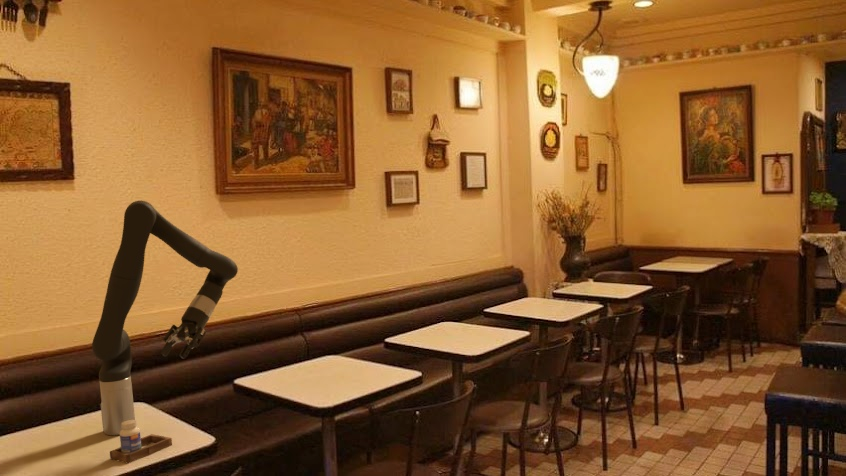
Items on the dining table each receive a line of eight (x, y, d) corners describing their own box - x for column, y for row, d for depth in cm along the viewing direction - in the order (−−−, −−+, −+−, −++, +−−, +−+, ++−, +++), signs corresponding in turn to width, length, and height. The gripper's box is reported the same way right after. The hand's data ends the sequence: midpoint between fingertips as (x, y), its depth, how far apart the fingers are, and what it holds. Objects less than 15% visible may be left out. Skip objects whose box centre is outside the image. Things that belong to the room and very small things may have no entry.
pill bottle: (134, 458, 199) (131, 425, 198) (118, 458, 200) (114, 425, 199) (146, 451, 204) (142, 418, 204) (129, 451, 205) (126, 418, 205)
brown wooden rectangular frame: (109, 458, 201) (108, 451, 201) (152, 441, 213) (151, 434, 213) (129, 463, 196) (128, 455, 196) (172, 445, 209) (171, 437, 208)
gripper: (176, 304, 224) (149, 348, 215) (207, 306, 217) (180, 351, 208) (191, 318, 229) (165, 360, 220) (221, 320, 222) (195, 364, 213)
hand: (172, 356), depth 214 cm, fingers open, 8 cm apart
